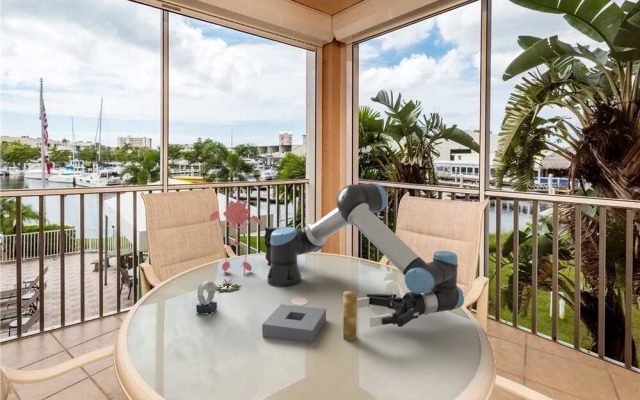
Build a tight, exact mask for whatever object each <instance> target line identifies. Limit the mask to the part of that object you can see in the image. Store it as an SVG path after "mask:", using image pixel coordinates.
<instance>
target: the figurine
mask: <svg viewBox="0 0 640 400" xmlns="http://www.w3.org/2000/svg"><path fill="white" fill-rule="evenodd" d="M250 213H251V211H250V209H249V208H247V203H245V202H242V201H241V200H240V199H239V200H236V202H235V201H233V200H230V201H229V204H228V205H226V206H225V211H223V213H222V214H223V216H224V217H226V222H227V223H231V224H230V225H227V224H226V225H222V223H221V219H220V218H221V217H220V213H219V211H218V210H215V211H213V212H212V213H211V214H210V215H209V219H210V221H211V222H213V221H215V220H217V219H218V222H219V226H220V228H227V227H233V228H235V229H236V230H237V231H236V236H235V239H234V240H232V243H231V244H229V245H228V246H226V247H224V250H223V254H224V259H225V261H224V262H223V264H222V265H221V269H222V270H223V271H224V276H226V275H227V270H229V269H230V268H231V263H230V261H227V258H226V252H225V250H226V249H228V248H229V247H231V246H235V247H236V246H238V245H239V246H240V247H242V248H244V249H245V251H247V247H245V246H243V245H242V244H240V243H239V241H238V239H237V237H238V234H239V232H240V230H239V229H241V230H245V229H246V228H247V227H248V225H249V223H250V222H251V221H252V220H253V221H254V222H255V223H257V224H258V225H259V226H263V222H262V221H261V220H260V218H259V217H257V216H256V215H254V214H253V215H252V216H251V218H250V219H249V214H250ZM245 221H248V222H247V223H246V224H245ZM244 224H245V226H244V227H241V226H243V225H244ZM237 225H241V226H237ZM244 254H245V255H244V256H245V259H244V260H245V261H243V262H242V265H240V267H241V268H242V267H243V276H245V274H246V270H247V271H249V272H251V271H252V270H253V268H252V265H251V264H250V263H249V262H247V253H244Z"/></svg>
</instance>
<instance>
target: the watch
mask: <svg viewBox="0 0 640 400" xmlns="http://www.w3.org/2000/svg"><path fill="white" fill-rule="evenodd" d="M217 286H218V285H216V283H215V282H213V281H212V280H204V281H202V282H201V283H200V284H199V285H198V288H197V300H198V303H197V304H196V306H195V308H196V310H195V311H196V313H197V312H198V313H208V314H211V313H212V312H214V311H215V310H216V309H217V310H218V304H217V303H218V301H215V300H214V301H213V299H214V297H215V294H216V292H217V289H216V288H217ZM204 290H205V291H206V292H207V294H208V295H207V297H206V298H205V296H204ZM217 310H216V311H217ZM216 311H215V312H216ZM215 312H214V313H215ZM211 315H212V314H211Z"/></svg>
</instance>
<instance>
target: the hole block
mask: <svg viewBox="0 0 640 400" xmlns="http://www.w3.org/2000/svg"><path fill="white" fill-rule="evenodd" d="M326 321H327V309H326V308H325V307H313V306H303V305H294V304H285V303H281V304H280V305H279V306H278V307H277V308H276V309H275V310H274V311H273V312H272V313H271V314H270V315H269V317H268V318H267V319H266V320H265V321H264V322H263V323H261V324H262V325H261V327H262V329H261V332H262V335H261V336H263V337H264V338H270V339H277V340H285V341H291V340H292V342H300V343H306V344H314V342H315V340H316V339H317V337H318V335H319V333H320V332H321V329H322V328H323V326H324V325H325V323H326Z"/></svg>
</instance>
